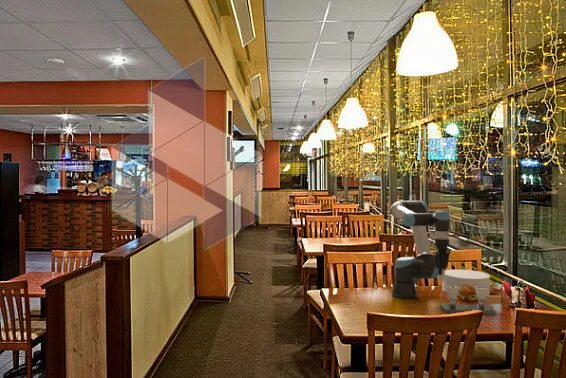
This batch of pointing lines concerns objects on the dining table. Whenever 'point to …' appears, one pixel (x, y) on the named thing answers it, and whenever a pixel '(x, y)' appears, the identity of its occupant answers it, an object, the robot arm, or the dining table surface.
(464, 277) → the plate stack
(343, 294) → the dining table surface
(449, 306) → the lock plate
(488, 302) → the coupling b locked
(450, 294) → the coupling
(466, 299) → the cheeseburger
